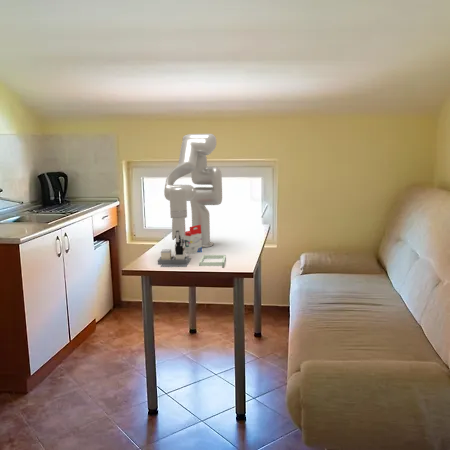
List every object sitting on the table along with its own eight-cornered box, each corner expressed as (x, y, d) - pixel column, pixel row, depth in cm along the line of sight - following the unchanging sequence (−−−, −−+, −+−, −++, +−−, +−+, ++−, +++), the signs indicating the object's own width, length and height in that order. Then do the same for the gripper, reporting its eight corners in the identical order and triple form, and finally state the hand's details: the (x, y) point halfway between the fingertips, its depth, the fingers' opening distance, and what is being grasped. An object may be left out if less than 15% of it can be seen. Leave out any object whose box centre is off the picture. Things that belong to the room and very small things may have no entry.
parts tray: (202, 260, 236) (202, 255, 235) (225, 260, 235) (225, 254, 234) (199, 267, 222) (199, 262, 221) (223, 267, 221) (223, 262, 221)
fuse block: (162, 260, 237) (162, 246, 236) (191, 260, 236) (191, 246, 235) (155, 269, 221) (155, 254, 220) (186, 269, 220) (186, 254, 219)
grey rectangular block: (177, 259, 231) (176, 243, 229) (185, 259, 230) (184, 243, 229) (175, 262, 227) (174, 245, 225) (184, 262, 226) (183, 245, 225)
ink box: (195, 251, 254) (194, 223, 251) (202, 252, 251) (201, 224, 248) (183, 254, 247) (182, 226, 245) (190, 256, 244) (189, 227, 241)
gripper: (173, 211, 233) (175, 249, 236) (167, 217, 216) (168, 257, 220) (189, 211, 232) (190, 249, 236) (184, 217, 216) (185, 257, 219)
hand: (180, 252), depth 228 cm, fingers closed on grey rectangular block, 4 cm apart
